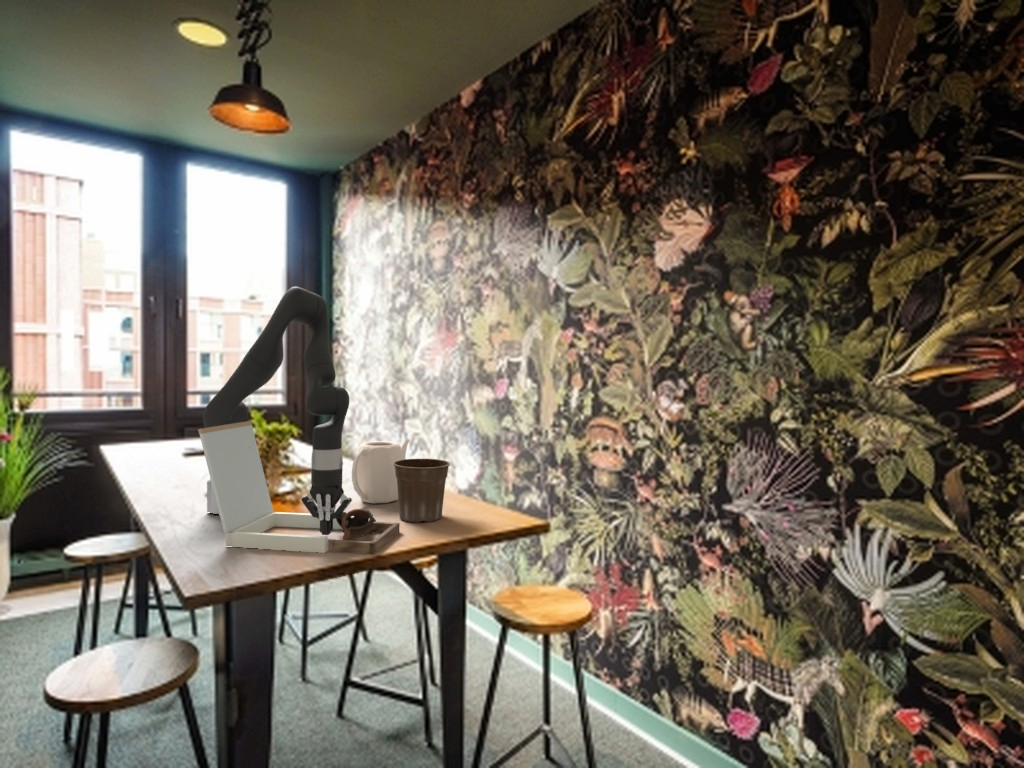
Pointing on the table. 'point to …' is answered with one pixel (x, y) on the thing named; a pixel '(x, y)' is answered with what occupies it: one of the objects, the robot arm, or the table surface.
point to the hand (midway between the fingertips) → (326, 534)
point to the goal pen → (366, 546)
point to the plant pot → (421, 488)
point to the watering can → (377, 470)
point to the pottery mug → (356, 523)
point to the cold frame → (251, 494)
